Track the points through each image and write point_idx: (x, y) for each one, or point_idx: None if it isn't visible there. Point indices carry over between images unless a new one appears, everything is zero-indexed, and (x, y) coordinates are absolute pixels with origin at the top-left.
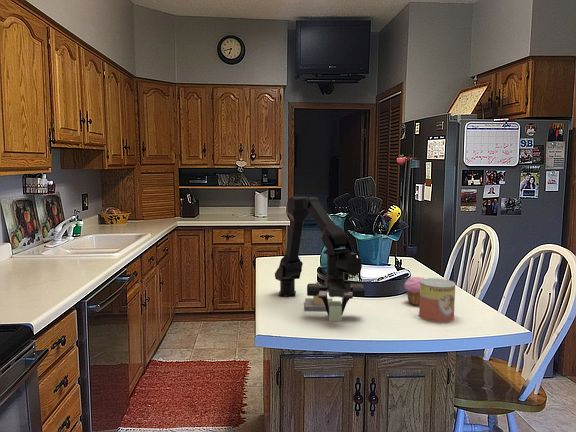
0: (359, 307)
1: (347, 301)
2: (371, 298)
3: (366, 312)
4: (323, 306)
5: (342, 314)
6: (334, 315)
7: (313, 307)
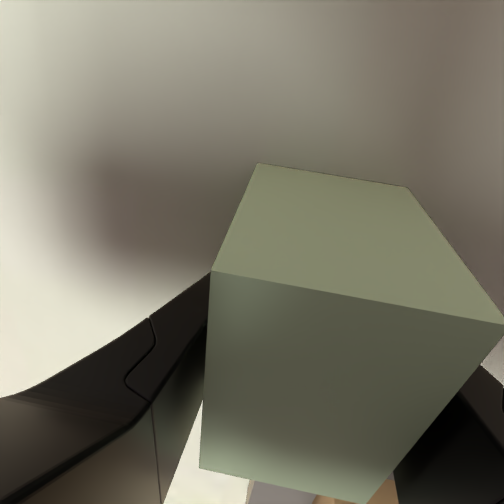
0: None
1: (42, 385)
2: None
3: (27, 331)
4: None
5: None
6: (353, 205)
7: None
